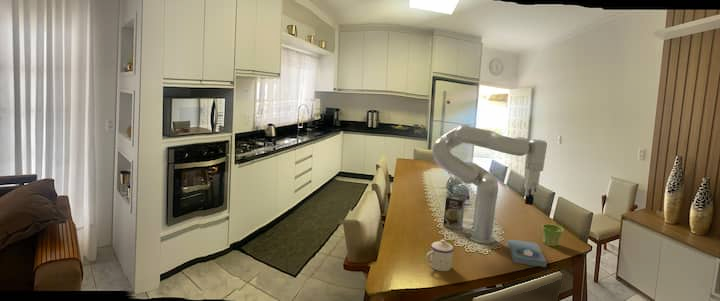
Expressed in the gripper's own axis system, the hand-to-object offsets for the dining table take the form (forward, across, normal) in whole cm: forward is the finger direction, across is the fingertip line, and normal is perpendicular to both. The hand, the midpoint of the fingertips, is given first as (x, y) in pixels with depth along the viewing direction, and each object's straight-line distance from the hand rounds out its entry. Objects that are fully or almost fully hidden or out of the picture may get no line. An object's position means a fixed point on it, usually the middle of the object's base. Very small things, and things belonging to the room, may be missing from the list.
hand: (528, 204), depth 179 cm
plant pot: (+21, -9, +14) cm, 27 cm away
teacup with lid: (+22, +39, -36) cm, 58 cm away
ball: (+19, +15, +1) cm, 24 cm away
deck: (+21, +10, 0) cm, 24 cm away
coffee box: (+22, -11, -34) cm, 42 cm away
